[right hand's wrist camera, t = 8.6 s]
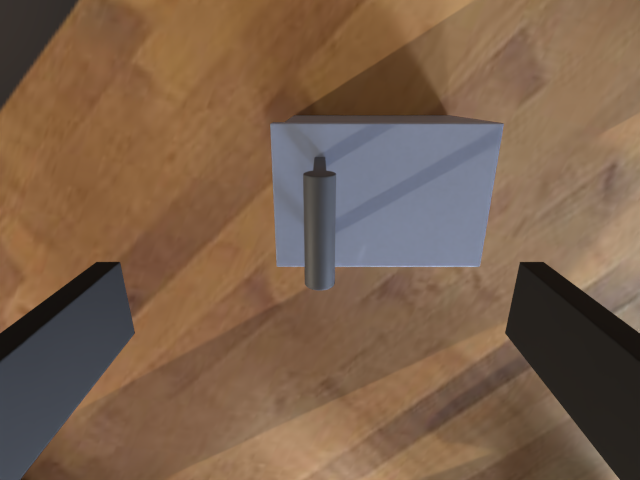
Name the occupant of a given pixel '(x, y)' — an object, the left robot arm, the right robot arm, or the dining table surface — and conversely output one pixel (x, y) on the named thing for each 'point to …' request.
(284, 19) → the dining table surface
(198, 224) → the dining table surface
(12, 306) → the dining table surface
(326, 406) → the dining table surface
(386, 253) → the lid
